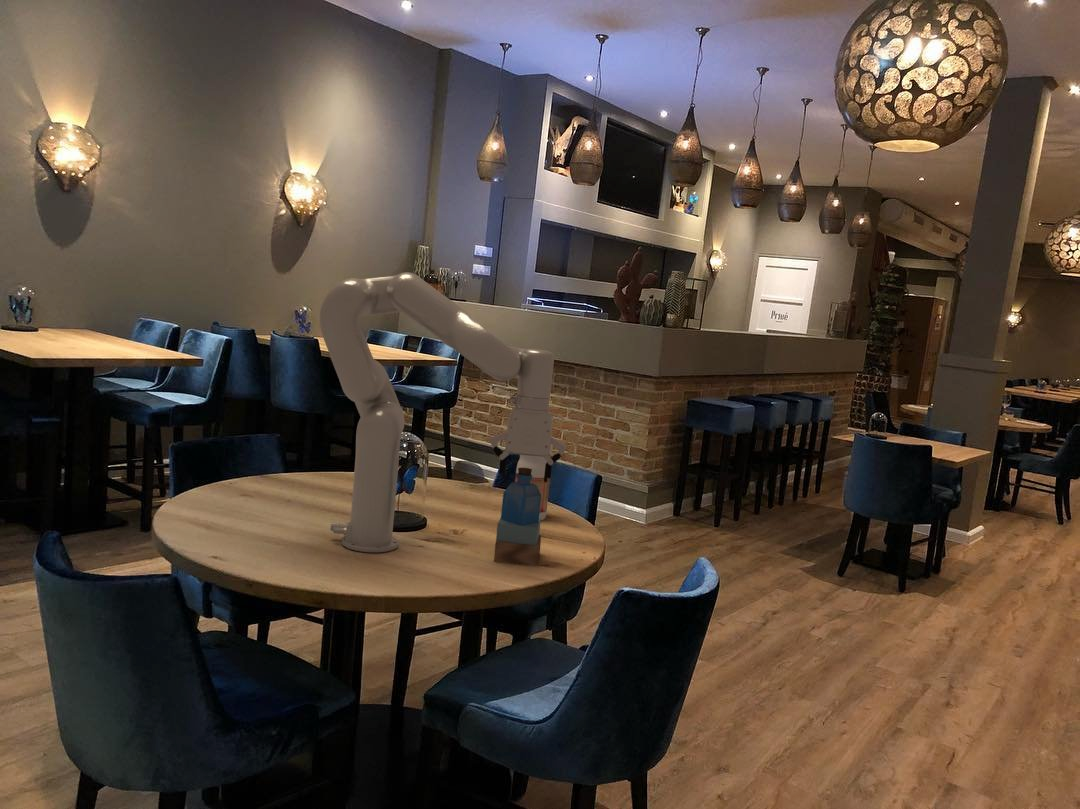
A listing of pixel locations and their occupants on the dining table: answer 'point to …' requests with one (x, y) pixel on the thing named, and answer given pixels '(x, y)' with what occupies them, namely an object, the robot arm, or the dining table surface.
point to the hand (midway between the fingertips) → (524, 478)
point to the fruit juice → (537, 477)
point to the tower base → (517, 553)
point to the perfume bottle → (521, 500)
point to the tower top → (518, 532)
